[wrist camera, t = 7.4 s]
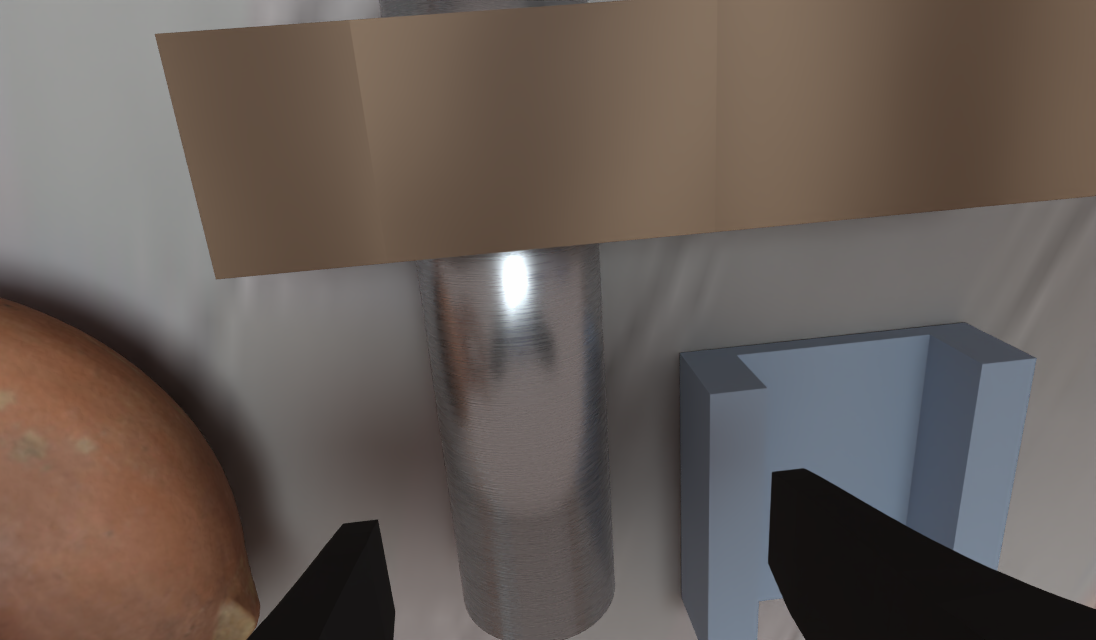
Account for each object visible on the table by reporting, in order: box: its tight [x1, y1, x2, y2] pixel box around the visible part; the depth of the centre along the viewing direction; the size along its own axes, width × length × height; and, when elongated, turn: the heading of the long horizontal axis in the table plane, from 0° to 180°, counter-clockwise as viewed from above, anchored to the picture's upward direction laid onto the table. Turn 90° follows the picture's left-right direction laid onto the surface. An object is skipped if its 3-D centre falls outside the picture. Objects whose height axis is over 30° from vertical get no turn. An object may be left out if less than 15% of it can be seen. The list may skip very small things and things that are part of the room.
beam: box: [155, 0, 1096, 279], centre depth 15 cm, size 18×4×6 cm, turn 94°
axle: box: [379, 0, 615, 640], centre depth 17 cm, size 4×16×4 cm, turn 4°
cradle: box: [680, 323, 1037, 640], centre depth 20 cm, size 9×9×3 cm
